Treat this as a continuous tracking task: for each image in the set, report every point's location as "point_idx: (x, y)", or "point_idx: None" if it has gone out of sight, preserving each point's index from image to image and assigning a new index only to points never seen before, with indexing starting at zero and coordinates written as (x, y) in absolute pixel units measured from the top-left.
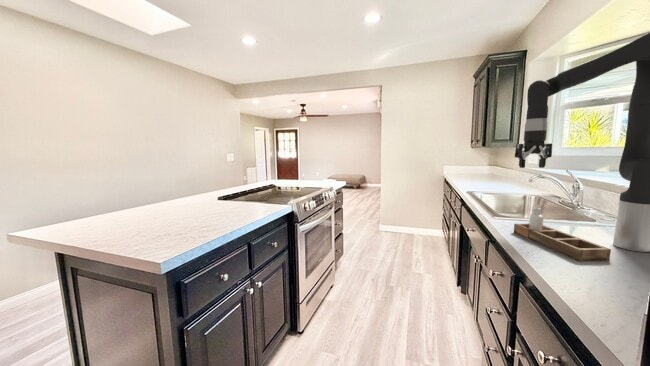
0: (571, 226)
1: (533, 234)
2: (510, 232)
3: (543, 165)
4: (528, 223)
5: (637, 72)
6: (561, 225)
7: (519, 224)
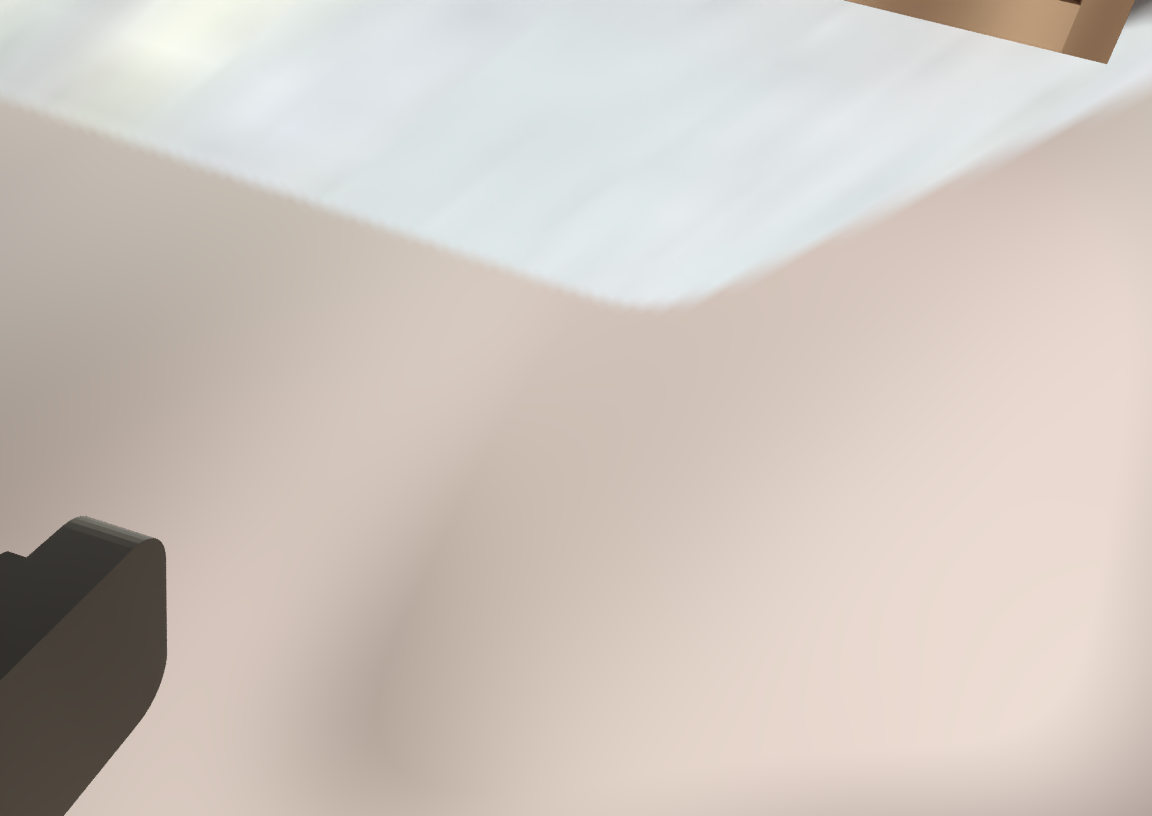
0: (90, 17)
1: None
2: (1115, 56)
3: (73, 577)
4: (875, 5)
5: None
6: (169, 86)
7: (1077, 3)
